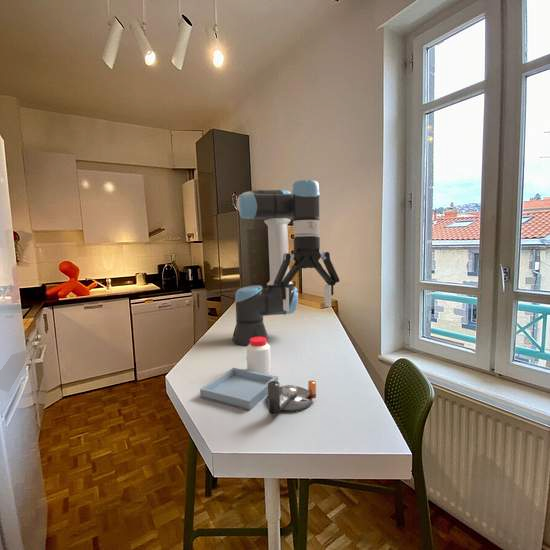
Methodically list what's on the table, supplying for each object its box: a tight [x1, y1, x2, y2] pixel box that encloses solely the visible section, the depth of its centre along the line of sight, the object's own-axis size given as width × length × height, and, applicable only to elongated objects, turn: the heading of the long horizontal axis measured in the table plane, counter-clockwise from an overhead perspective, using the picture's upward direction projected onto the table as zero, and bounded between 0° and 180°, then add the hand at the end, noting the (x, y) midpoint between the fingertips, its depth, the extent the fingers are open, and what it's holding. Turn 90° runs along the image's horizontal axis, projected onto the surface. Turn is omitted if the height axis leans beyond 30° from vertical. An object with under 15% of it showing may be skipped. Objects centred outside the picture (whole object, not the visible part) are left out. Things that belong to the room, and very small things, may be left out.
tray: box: [199, 367, 279, 412], centre depth 90 cm, size 16×16×2 cm
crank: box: [267, 381, 297, 416], centre depth 80 cm, size 12×4×7 cm, turn 153°
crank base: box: [266, 380, 317, 413], centre depth 84 cm, size 13×12×5 cm
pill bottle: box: [246, 337, 272, 375], centre depth 103 cm, size 8×8×11 cm
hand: (307, 308), depth 93 cm, fingers open, 13 cm apart
